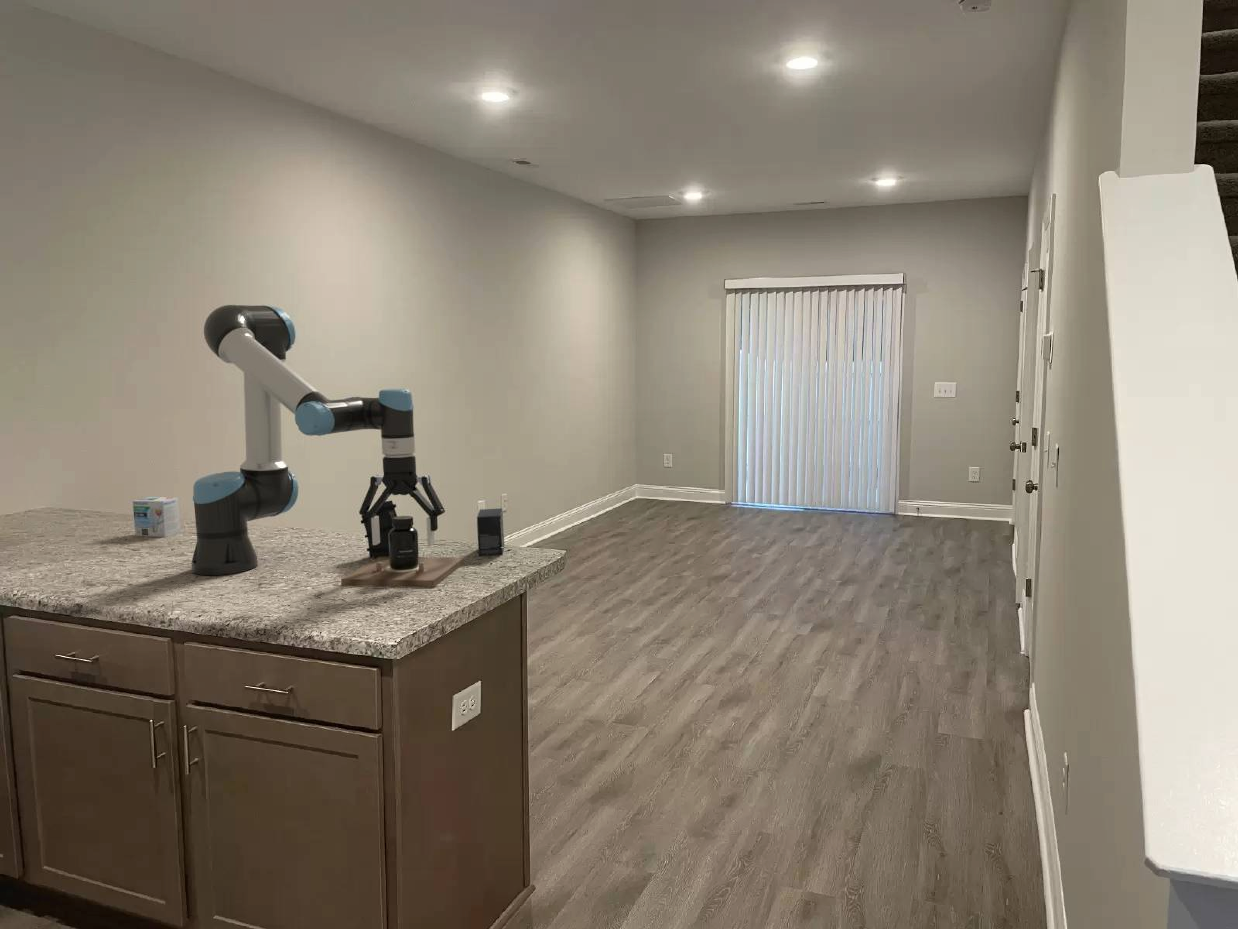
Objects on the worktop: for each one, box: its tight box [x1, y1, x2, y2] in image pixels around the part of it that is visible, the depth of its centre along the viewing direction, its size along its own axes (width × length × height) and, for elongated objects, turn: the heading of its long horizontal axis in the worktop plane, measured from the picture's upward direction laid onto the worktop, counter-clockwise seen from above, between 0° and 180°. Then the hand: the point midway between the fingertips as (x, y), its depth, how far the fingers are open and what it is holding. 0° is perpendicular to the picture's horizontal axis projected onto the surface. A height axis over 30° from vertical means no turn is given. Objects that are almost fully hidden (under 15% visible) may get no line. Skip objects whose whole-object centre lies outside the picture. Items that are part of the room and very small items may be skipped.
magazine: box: [360, 500, 398, 559], centre depth 237 cm, size 4×13×15 cm, turn 50°
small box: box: [476, 507, 505, 557], centre depth 242 cm, size 11×6×10 cm, turn 5°
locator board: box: [340, 556, 465, 588], centre depth 220 cm, size 22×22×4 cm
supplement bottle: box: [389, 515, 420, 570], centre depth 219 cm, size 7×7×12 cm
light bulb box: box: [132, 496, 181, 538], centre depth 274 cm, size 11×7×11 cm, turn 77°
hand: (403, 544), depth 219 cm, fingers open, 13 cm apart
